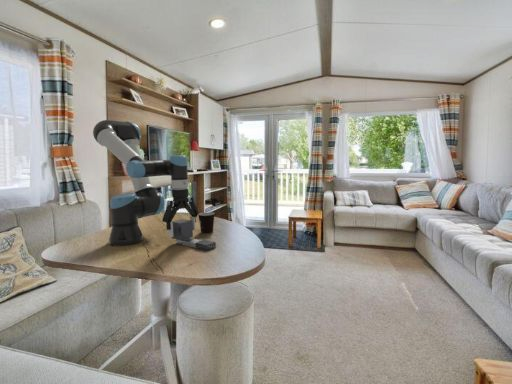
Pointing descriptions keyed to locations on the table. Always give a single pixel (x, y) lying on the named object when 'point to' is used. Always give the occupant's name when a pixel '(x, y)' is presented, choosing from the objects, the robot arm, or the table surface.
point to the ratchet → (197, 243)
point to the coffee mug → (206, 222)
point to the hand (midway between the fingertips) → (182, 233)
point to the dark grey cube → (182, 229)
